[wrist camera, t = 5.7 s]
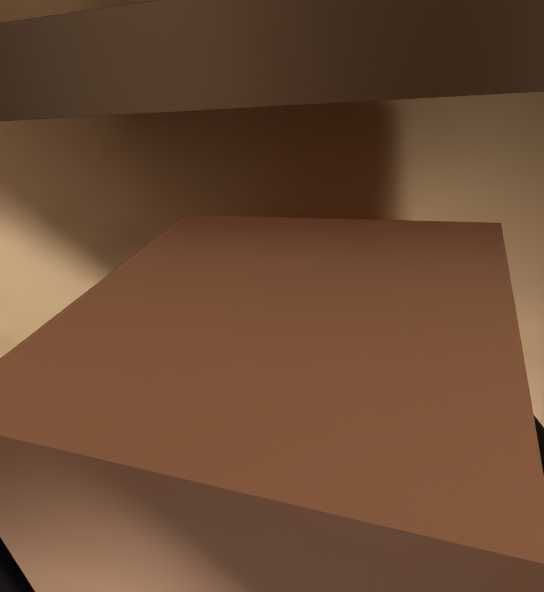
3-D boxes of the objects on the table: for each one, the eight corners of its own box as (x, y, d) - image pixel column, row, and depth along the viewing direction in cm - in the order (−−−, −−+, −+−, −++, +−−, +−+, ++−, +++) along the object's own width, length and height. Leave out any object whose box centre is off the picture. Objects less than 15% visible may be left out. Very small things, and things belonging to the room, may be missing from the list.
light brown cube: (500, 223, 7) (560, 568, 3) (464, 467, 9) (466, 835, 5) (186, 214, 8) (-76, 417, 4) (227, 423, 11) (88, 674, 7)
